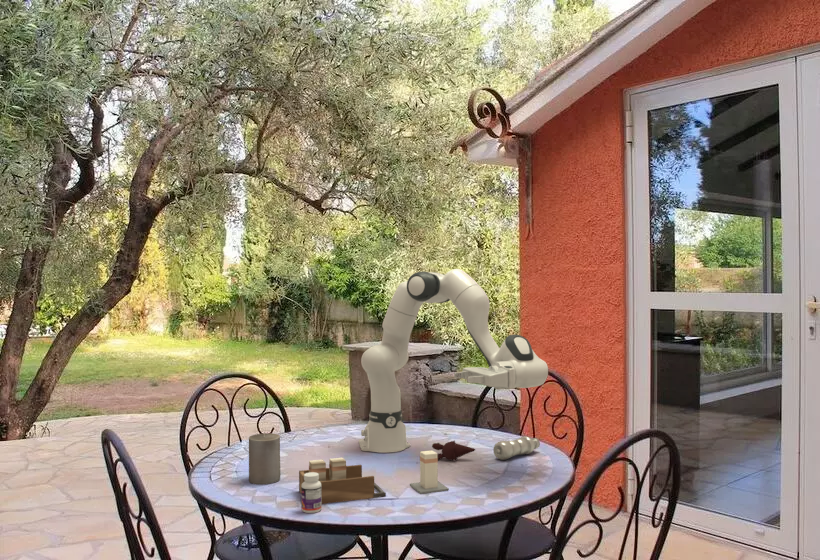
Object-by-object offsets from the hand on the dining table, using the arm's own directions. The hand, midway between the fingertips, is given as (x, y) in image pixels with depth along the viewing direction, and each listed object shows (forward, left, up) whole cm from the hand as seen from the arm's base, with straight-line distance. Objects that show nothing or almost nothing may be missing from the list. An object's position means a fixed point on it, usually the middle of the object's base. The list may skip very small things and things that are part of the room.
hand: (461, 377), depth 210 cm
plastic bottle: (-17, +21, -29) cm, 40 cm away
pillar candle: (-23, -57, -32) cm, 70 cm away
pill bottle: (+10, -49, -32) cm, 60 cm away
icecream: (-24, +8, -32) cm, 41 cm away
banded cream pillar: (+3, -12, -31) cm, 34 cm away
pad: (+3, -12, -32) cm, 34 cm away
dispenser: (-1, -38, -32) cm, 50 cm away
